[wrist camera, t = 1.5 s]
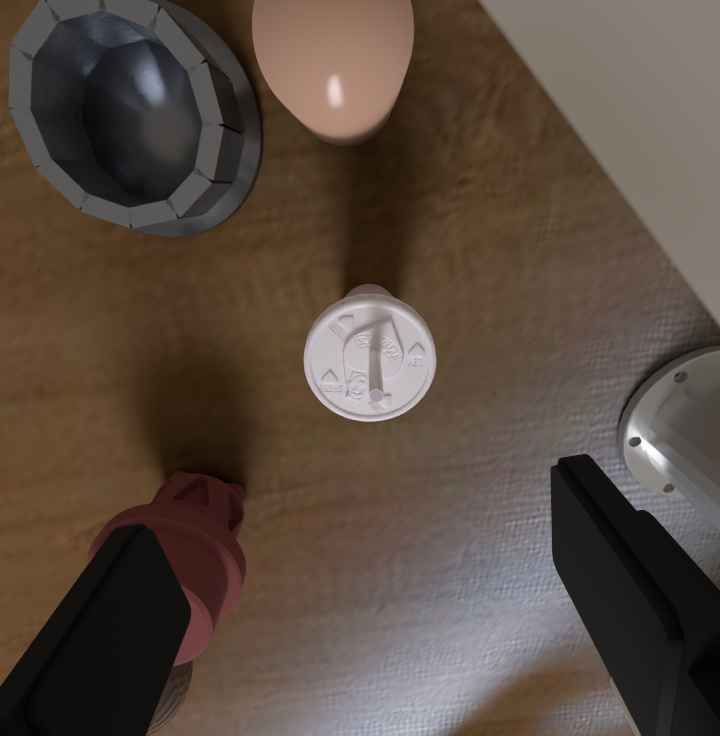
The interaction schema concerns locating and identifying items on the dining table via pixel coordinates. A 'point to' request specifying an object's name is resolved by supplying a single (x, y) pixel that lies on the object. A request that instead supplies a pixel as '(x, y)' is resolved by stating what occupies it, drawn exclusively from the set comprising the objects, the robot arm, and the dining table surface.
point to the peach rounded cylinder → (335, 62)
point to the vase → (171, 697)
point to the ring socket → (136, 113)
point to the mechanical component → (195, 547)
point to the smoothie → (369, 355)
